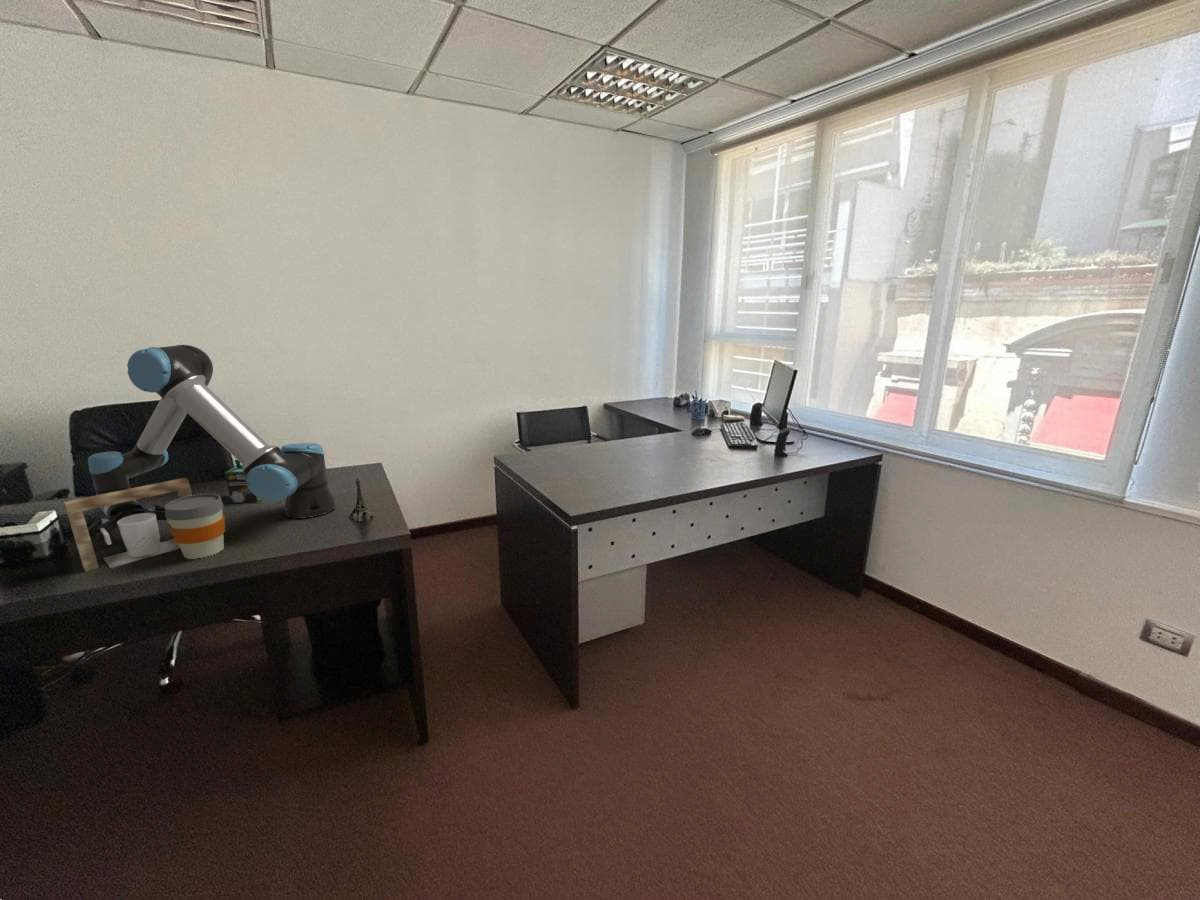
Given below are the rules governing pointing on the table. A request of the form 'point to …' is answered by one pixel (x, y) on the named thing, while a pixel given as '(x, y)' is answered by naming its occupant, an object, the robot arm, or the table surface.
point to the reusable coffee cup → (197, 524)
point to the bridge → (83, 504)
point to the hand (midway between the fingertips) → (142, 531)
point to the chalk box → (239, 485)
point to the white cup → (140, 534)
